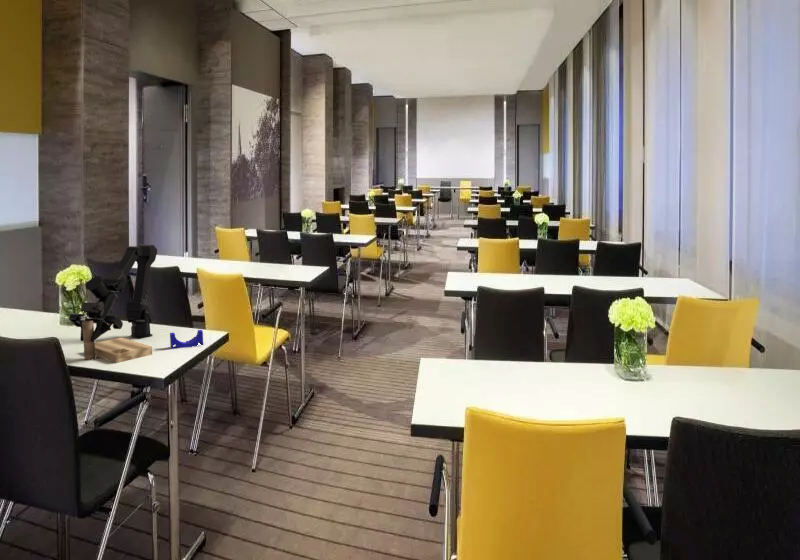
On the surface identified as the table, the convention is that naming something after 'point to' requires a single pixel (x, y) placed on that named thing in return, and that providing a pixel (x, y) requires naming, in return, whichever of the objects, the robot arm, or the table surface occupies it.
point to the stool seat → (121, 350)
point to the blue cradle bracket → (188, 343)
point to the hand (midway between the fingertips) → (86, 341)
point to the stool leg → (88, 340)
